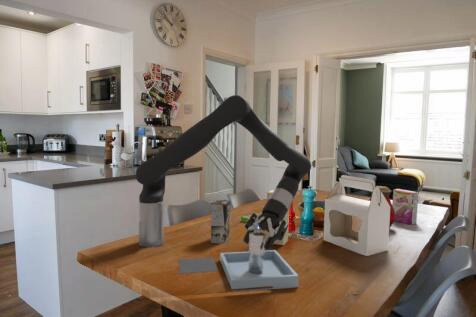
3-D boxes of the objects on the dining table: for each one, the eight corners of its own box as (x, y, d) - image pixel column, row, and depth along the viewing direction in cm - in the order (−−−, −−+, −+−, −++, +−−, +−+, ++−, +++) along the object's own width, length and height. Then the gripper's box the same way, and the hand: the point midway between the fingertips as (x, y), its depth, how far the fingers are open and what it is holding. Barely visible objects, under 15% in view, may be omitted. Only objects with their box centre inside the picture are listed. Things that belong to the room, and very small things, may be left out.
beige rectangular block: (289, 240, 145) (290, 191, 143) (283, 245, 138) (285, 194, 136) (271, 237, 148) (272, 189, 146) (265, 242, 141) (266, 192, 139)
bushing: (250, 274, 107) (251, 237, 106) (246, 267, 112) (247, 232, 111) (265, 273, 108) (267, 236, 107) (261, 266, 113) (262, 231, 112)
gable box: (322, 240, 146) (325, 174, 144) (343, 235, 153) (346, 173, 151) (367, 256, 127) (370, 182, 125) (388, 250, 134) (392, 179, 132)
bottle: (360, 229, 163) (362, 187, 161) (361, 222, 175) (363, 183, 173) (396, 233, 157) (399, 190, 155) (395, 226, 169) (397, 186, 167)
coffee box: (225, 244, 138) (226, 205, 137) (210, 243, 139) (210, 204, 138) (230, 237, 147) (231, 200, 146) (216, 236, 148) (216, 199, 147)
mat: (179, 276, 107) (179, 273, 107) (178, 262, 119) (178, 259, 119) (218, 274, 110) (218, 271, 110) (213, 260, 121) (213, 257, 121)
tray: (231, 292, 97) (231, 280, 97) (219, 262, 119) (220, 253, 119) (298, 287, 101) (298, 275, 101) (275, 259, 123) (275, 249, 123)
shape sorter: (282, 213, 194) (282, 205, 193) (307, 221, 178) (307, 212, 178) (233, 221, 175) (233, 213, 174) (255, 231, 159) (255, 221, 159)
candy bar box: (390, 220, 181) (392, 189, 180) (396, 218, 184) (397, 188, 182) (411, 225, 172) (413, 192, 170) (416, 223, 174) (418, 191, 173)
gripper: (257, 194, 119) (233, 234, 112) (291, 201, 109) (268, 244, 102) (266, 207, 123) (244, 246, 116) (300, 214, 114) (278, 257, 106)
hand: (255, 245), depth 109 cm, fingers open, 8 cm apart
